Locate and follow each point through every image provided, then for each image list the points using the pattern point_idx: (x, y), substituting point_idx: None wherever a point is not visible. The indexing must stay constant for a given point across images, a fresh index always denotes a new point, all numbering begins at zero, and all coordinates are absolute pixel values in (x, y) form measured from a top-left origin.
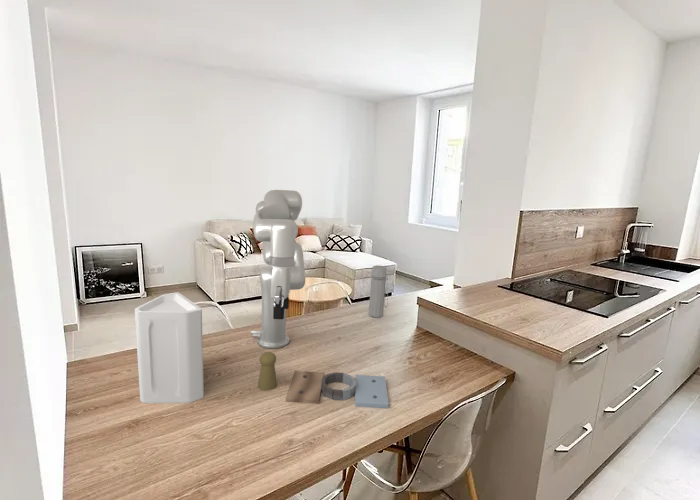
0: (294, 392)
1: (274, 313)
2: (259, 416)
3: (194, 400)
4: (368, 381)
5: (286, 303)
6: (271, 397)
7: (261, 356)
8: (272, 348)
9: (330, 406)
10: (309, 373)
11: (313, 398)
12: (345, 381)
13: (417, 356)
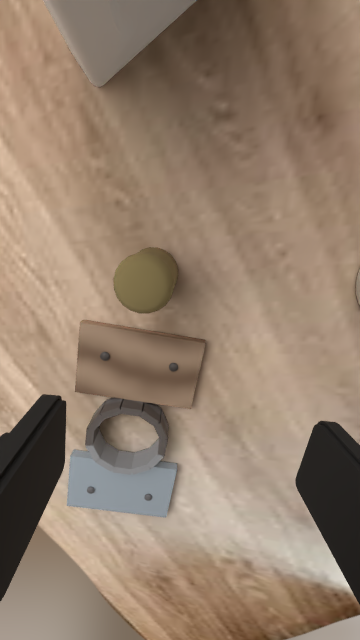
0: (103, 341)
1: (14, 437)
2: (23, 261)
3: (75, 58)
4: (147, 488)
5: (327, 523)
6: (99, 285)
7: (131, 261)
8: (357, 276)
9: (70, 407)
10: (188, 377)
11: (80, 381)
12: (154, 446)
13: (251, 576)
